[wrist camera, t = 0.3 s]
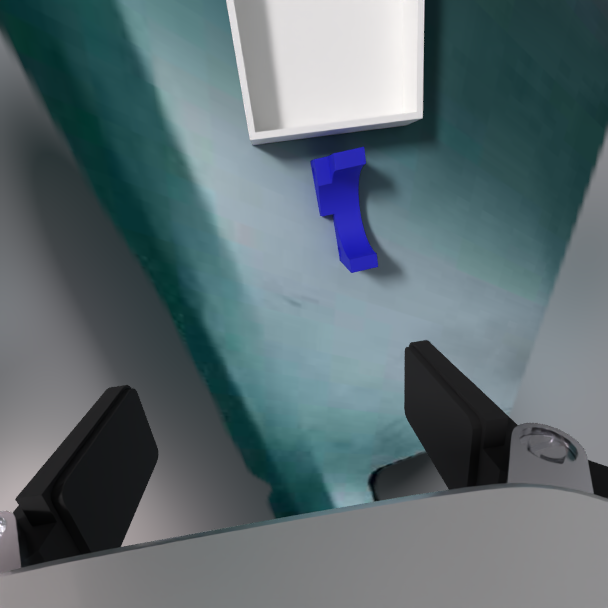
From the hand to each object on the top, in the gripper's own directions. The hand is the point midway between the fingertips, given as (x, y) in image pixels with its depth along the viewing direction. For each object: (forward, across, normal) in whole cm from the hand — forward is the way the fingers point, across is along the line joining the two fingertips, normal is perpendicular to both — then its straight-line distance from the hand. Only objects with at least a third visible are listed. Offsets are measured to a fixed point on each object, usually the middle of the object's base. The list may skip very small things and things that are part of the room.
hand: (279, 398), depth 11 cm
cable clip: (+29, -8, -4) cm, 31 cm away
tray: (+28, -8, -20) cm, 36 cm away
